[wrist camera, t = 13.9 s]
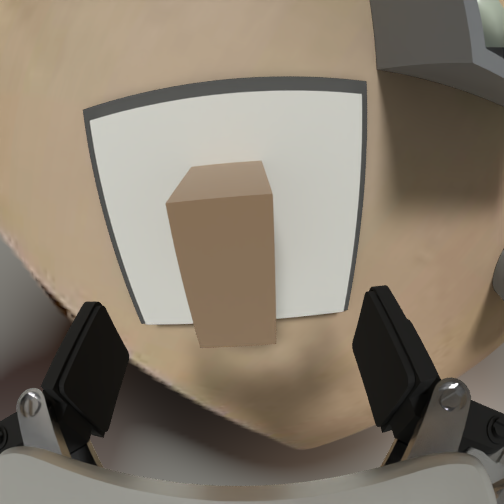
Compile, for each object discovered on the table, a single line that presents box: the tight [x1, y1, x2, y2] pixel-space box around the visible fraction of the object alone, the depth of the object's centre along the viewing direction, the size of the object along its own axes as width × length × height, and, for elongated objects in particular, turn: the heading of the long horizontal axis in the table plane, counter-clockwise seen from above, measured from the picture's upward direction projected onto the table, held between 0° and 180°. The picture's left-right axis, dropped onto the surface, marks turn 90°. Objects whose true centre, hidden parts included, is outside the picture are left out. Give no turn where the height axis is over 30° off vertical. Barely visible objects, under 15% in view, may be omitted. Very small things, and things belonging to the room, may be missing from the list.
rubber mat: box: [83, 77, 367, 324], centre depth 19 cm, size 18×18×1 cm
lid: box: [90, 91, 362, 348], centre depth 15 cm, size 16×16×7 cm
